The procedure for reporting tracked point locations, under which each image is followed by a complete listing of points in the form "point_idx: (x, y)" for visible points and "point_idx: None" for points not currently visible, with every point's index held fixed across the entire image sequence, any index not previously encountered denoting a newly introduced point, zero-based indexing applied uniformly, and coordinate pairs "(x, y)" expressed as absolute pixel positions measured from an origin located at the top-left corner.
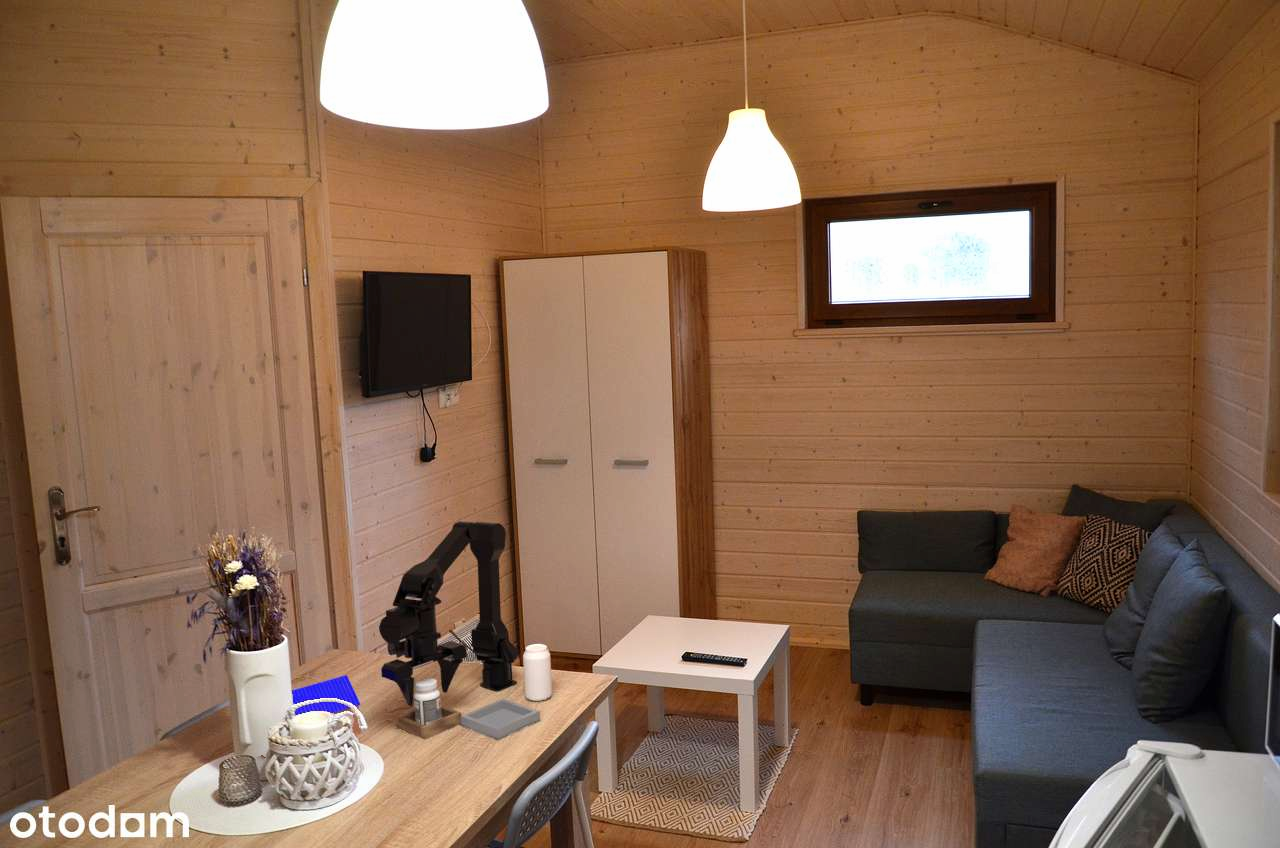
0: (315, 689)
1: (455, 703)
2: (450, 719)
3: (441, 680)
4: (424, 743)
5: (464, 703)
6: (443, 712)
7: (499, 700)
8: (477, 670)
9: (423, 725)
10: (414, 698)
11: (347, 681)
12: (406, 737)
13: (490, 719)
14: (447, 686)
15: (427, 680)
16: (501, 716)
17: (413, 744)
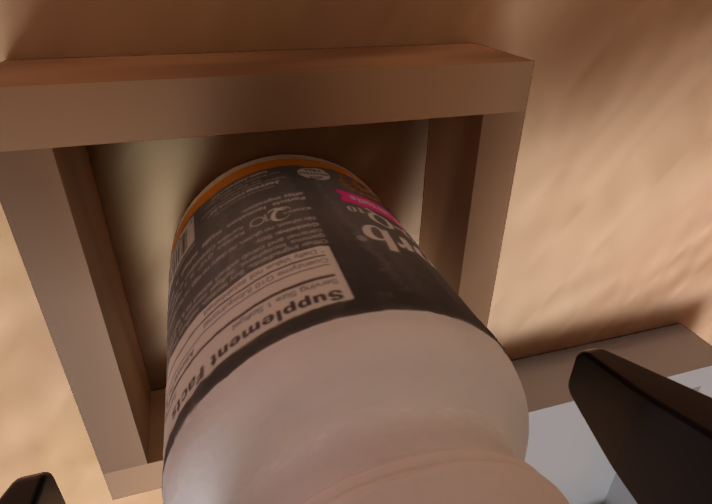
0: None
1: (691, 16)
2: None
3: (708, 443)
4: (93, 464)
5: (703, 79)
6: (446, 260)
7: (705, 369)
8: None
9: (139, 460)
10: (166, 472)
11: None
12: (16, 317)
13: (529, 432)
14: (624, 472)
15: None
16: (578, 430)
17: (14, 444)
